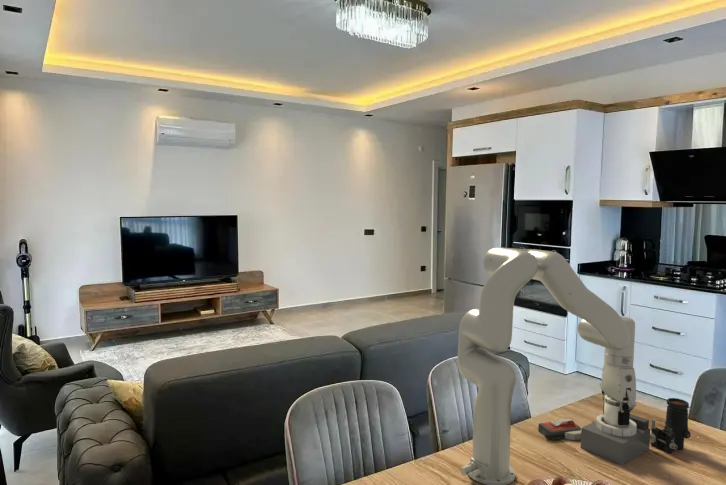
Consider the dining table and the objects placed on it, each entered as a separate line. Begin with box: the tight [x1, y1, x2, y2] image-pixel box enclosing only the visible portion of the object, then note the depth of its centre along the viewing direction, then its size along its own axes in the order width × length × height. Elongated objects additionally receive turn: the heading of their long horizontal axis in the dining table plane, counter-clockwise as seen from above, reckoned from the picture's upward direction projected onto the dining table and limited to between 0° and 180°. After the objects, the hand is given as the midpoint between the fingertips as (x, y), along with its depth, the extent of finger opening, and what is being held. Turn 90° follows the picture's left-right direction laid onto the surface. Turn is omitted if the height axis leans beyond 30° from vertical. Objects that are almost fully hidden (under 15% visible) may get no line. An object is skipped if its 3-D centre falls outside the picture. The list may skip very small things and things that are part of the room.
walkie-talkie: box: [537, 417, 582, 441], centre depth 155 cm, size 9×4×20 cm
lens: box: [603, 394, 628, 428], centre depth 145 cm, size 6×6×9 cm
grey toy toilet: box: [580, 413, 651, 466], centre depth 146 cm, size 16×12×8 cm
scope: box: [650, 397, 692, 455], centre depth 146 cm, size 8×14×10 cm
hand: (615, 418), depth 145 cm, fingers closed on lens, 6 cm apart
